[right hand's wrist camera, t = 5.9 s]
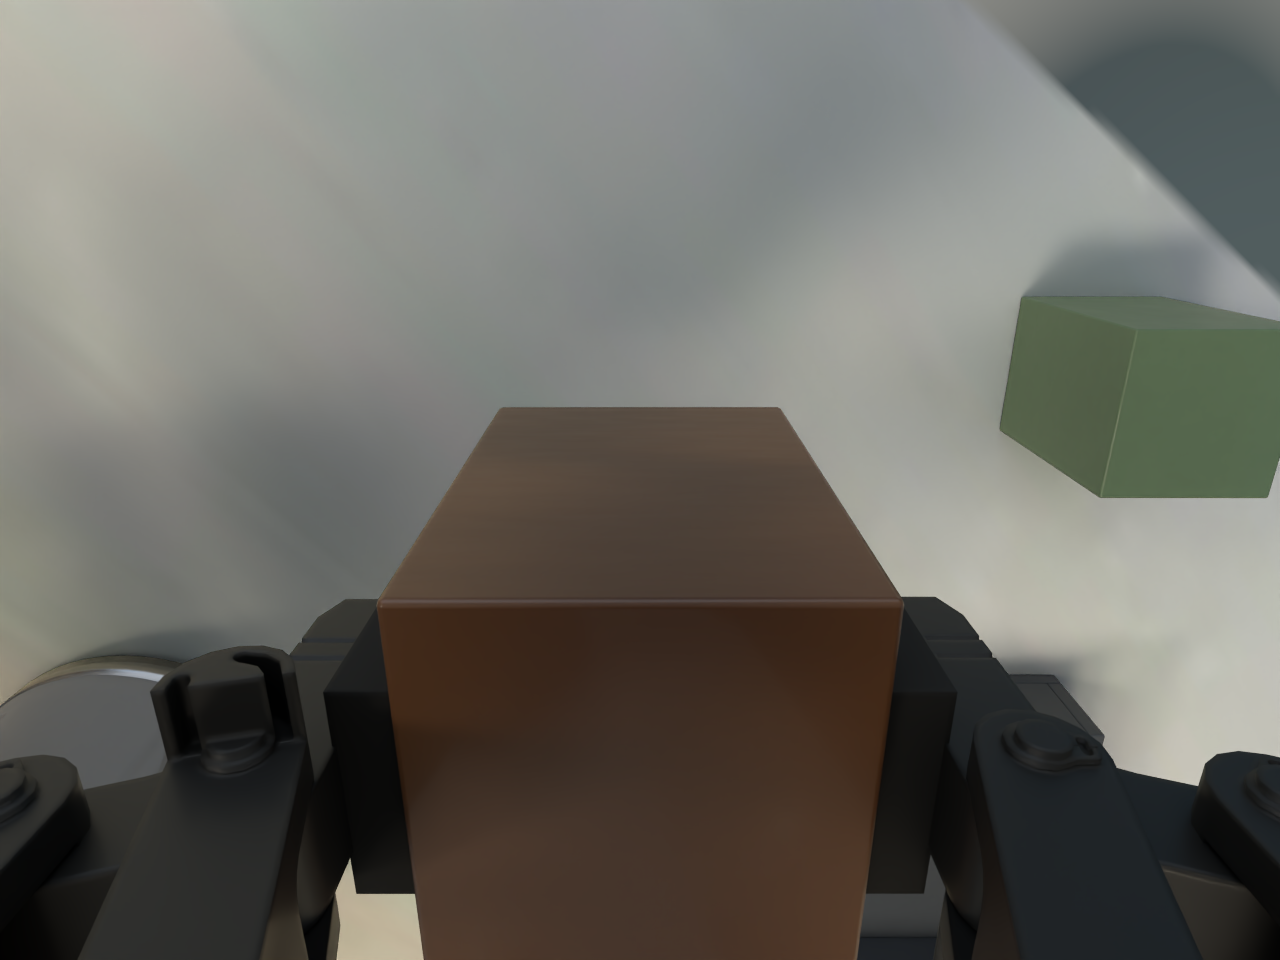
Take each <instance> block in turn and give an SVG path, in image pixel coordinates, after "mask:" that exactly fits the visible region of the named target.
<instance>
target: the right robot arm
mask: <svg viewBox="0 0 1280 960" xmlns="http://www.w3.org/2000/svg"><path fill="white" fill-rule="evenodd" d="M901 598H902V599H903V602H904V610H903V618H902V625H901V633H900V640H899V648H898V655H897V663H896V670H895V678H894V685H893V693H892V701H891V708H890V716H889V723H888V731H887V738H886V746H885V753H884V761H883V768H882V776H881V783H880V791H879V798H878V806H877V813H876V821H875V828H874V836H873V843H872V851H871V858H870V866H869V873H868V881H867V888H866V894H924V891H925V885H926V879H927V873H928V867H929V861H930V855H931V856H932V859H933V861H934V863H935V865H936V868H937V870H938V872H939V875H940V877H941V879H942V881H943V884H944V886H945V888H946V889H945V895H944V900H943V906H942V911H941V917H940V922H939V928H938V934H937V939H936V945H935V950H934V956H933V960H1280V758H1279V757H1275V756H1271V755H1266V754H1258V753H1250V752H1242V751H1236V752H1229V753H1222V754H1217V755H1215V756H1214V757H1213V758H1212V759H1210V760H1209V761H1208V762H1207V763H1205V766H1204V769H1203V773H1202V776H1201V779H1200V782H1199V785H1198V786H1194V785H1190V784H1185V783H1180V782H1175V781H1170V780H1166V779H1161V778H1156V777H1151V776H1147V775H1142V774H1137V773H1133V772H1130V771H1126V770H1122V769H1119V768H1116V766H1115V763H1114V761H1113V759H1112V758H1111V756H1110V755H1109V754H1108V752H1107V751H1106V750H1105V748H1104V747H1103V746H1102V744H1101V743H1100V742H1099V741H1097V740H1096V739H1094V738H1093V737H1092V736H1090V735H1089V734H1088V733H1086V732H1085V731H1084V730H1082V729H1081V728H1079V727H1077V726H1075V725H1073V724H1071V723H1068V722H1066V721H1064V720H1062V719H1060V718H1057V717H1055V716H1051V715H1047V714H1043V713H1039V712H1036V710H1035V709H1034V708H1033V706H1032V705H1031V704H1030V703H1029V701H1028V700H1027V699H1026V697H1025V696H1024V695H1023V693H1022V692H1021V691H1020V689H1019V688H1018V687H1017V685H1016V684H1015V683H1014V681H1013V680H1012V679H1011V677H1010V676H1009V675H1008V674H1007V672H1006V671H1005V670H1004V668H1003V667H1002V666H1001V664H1000V663H999V662H998V660H997V659H996V658H993V657H992V652H991V651H990V650H989V648H988V647H987V646H986V645H985V643H984V642H983V641H982V640H979V635H978V634H977V633H976V631H975V630H974V629H973V627H972V626H971V625H970V623H969V622H968V621H967V620H966V618H965V617H964V616H963V615H962V614H961V613H959V612H958V611H956V610H955V609H953V608H952V607H950V606H948V605H947V604H945V603H944V602H942V601H941V600H939V599H938V598H936V597H901ZM377 602H378V599H346V600H344V601H342V602H341V603H339V604H338V605H336V606H335V607H333V608H332V609H330V610H329V611H327V612H326V613H324V614H323V615H321V616H319V617H318V618H317V619H316V621H315V622H314V623H313V625H312V626H311V627H310V629H309V630H308V631H307V633H306V634H305V635H304V637H303V638H302V643H298V645H297V646H296V647H295V649H294V650H293V651H292V653H291V654H290V655H288V654H286V653H285V652H284V651H283V650H280V649H275V648H271V647H266V646H238V647H233V648H228V649H224V650H219V651H214V652H210V653H208V654H205V655H203V656H200V657H198V658H195V659H192V660H190V661H187V662H185V663H183V664H181V663H178V662H174V661H169V660H164V659H159V658H151V657H143V656H125V655H121V656H103V657H95V658H88V659H84V660H79V661H75V662H71V663H68V664H65V665H62V666H59V667H57V668H54V669H52V670H50V671H48V672H46V673H44V674H42V675H40V676H39V677H37V678H35V679H34V680H32V681H31V682H29V683H28V684H27V685H26V686H24V687H23V688H22V689H21V690H19V691H18V692H17V693H16V694H14V695H13V696H12V697H11V698H9V699H8V700H7V701H6V702H4V703H3V704H2V705H1V706H0V960H336V958H337V949H338V941H339V932H340V919H339V912H338V906H337V900H336V895H335V891H336V889H337V887H338V885H339V882H340V880H341V878H342V875H343V873H344V871H345V868H346V866H347V864H348V862H349V859H350V858H351V864H352V870H353V876H354V882H355V888H356V894H415V889H414V882H413V874H412V867H411V859H410V852H409V844H408V837H407V829H406V822H405V814H404V807H403V799H402V792H401V784H400V777H399V769H398V762H397V754H396V747H395V739H394V732H393V724H392V717H391V709H390V702H389V694H388V687H387V679H386V672H385V664H384V657H383V649H382V642H381V634H380V627H379V619H378V611H377Z"/></svg>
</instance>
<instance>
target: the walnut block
mask: <svg viewBox="0 0 1280 960" xmlns="http://www.w3.org/2000/svg"><path fill="white" fill-rule="evenodd" d="M903 610H904V602H903V599H902V598H901V596H900V595H899V593H898V591H897V590H896V588H895V587H894V585H893V584H892V582H891V581H890V579H889V577H888V576H887V574H886V573H885V571H884V570H883V568H882V566H881V565H880V563H879V562H878V560H877V559H876V557H875V556H874V554H873V552H872V551H871V549H870V548H869V546H868V545H867V543H866V541H865V540H864V538H863V537H862V535H861V534H860V532H859V530H858V529H857V527H856V526H855V524H854V523H853V521H852V520H851V518H850V516H849V515H848V513H847V512H846V510H845V509H844V507H843V505H842V504H841V502H840V501H839V499H838V498H837V496H836V495H835V493H834V491H833V490H832V488H831V487H830V485H829V484H828V482H827V480H826V479H825V477H824V476H823V474H822V473H821V471H820V470H819V468H818V466H817V465H816V463H815V462H814V460H813V459H812V457H811V455H810V454H809V452H808V451H807V449H806V448H805V446H804V445H803V443H802V441H801V440H800V438H799V437H798V435H797V434H796V432H795V430H794V429H793V427H792V426H791V424H790V423H789V421H788V420H787V418H786V416H785V415H784V413H783V412H782V410H781V409H780V408H778V407H503V408H500V409H499V411H498V412H497V414H496V415H495V417H494V418H493V420H492V422H491V423H490V425H489V426H488V428H487V429H486V431H485V433H484V434H483V436H482V437H481V439H480V440H479V442H478V444H477V445H476V447H475V448H474V450H473V451H472V453H471V455H470V456H469V458H468V459H467V461H466V462H465V464H464V466H463V467H462V469H461V470H460V472H459V473H458V475H457V477H456V478H455V480H454V481H453V483H452V484H451V486H450V488H449V489H448V491H447V492H446V494H445V495H444V497H443V499H442V500H441V502H440V503H439V505H438V506H437V508H436V510H435V511H434V513H433V514H432V516H431V517H430V519H429V521H428V522H427V524H426V525H425V527H424V528H423V530H422V532H421V533H420V535H419V536H418V538H417V539H416V541H415V543H414V544H413V546H412V547H411V549H410V550H409V552H408V554H407V555H406V557H405V558H404V560H403V562H402V563H401V565H400V566H399V568H398V569H397V571H396V573H395V574H394V576H393V577H392V579H391V580H390V582H389V584H388V585H387V587H386V588H385V590H384V591H383V593H382V595H381V596H380V598H379V599H378V602H377V611H378V619H379V627H380V634H381V642H382V649H383V657H384V664H385V672H386V679H387V687H388V694H389V702H390V709H391V717H392V724H393V732H394V739H395V747H396V754H397V762H398V769H399V777H400V784H401V792H402V799H403V807H404V814H405V822H406V829H407V837H408V844H409V852H410V859H411V867H412V874H413V882H414V889H415V897H416V904H417V912H418V919H419V927H420V934H421V942H422V950H423V957H424V960H857V956H858V948H859V941H860V933H861V926H862V918H863V911H864V903H865V896H866V888H867V881H868V873H869V866H870V858H871V851H872V843H873V836H874V828H875V821H876V813H877V806H878V798H879V791H880V783H881V776H882V768H883V761H884V753H885V746H886V738H887V731H888V723H889V716H890V708H891V701H892V693H893V685H894V678H895V670H896V663H897V655H898V648H899V640H900V633H901V625H902V618H903Z"/></svg>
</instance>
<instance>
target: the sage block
mask: <svg viewBox="0 0 1280 960" xmlns="http://www.w3.org/2000/svg"><path fill="white" fill-rule="evenodd" d="M1000 431H1002V432H1003V433H1005V434H1006V435H1008V436H1009V437H1011V438H1012V439H1014V440H1015V441H1017V442H1018V443H1020V444H1021V445H1022V446H1024V447H1025V448H1027V449H1028V450H1030V451H1031V452H1033V453H1034V454H1036V455H1037V456H1039V457H1040V458H1042V459H1043V460H1045V461H1046V462H1048V463H1049V464H1051V465H1052V466H1054V467H1055V468H1057V469H1058V470H1059V471H1061V472H1062V473H1064V474H1065V475H1067V476H1068V477H1070V478H1071V479H1073V480H1074V481H1076V482H1077V483H1079V484H1080V485H1082V486H1083V487H1085V488H1086V489H1088V490H1089V491H1091V492H1092V493H1094V494H1095V495H1096V496H1098V497H1100V498H1267V497H1268V495H1269V491H1270V488H1271V485H1272V481H1273V478H1274V475H1275V471H1276V468H1277V465H1278V461H1279V458H1280V322H1279V321H1275V320H1270V319H1265V318H1260V317H1255V316H1251V315H1246V314H1241V313H1236V312H1231V311H1227V310H1222V309H1217V308H1212V307H1207V306H1203V305H1198V304H1193V303H1188V302H1183V301H1178V300H1174V299H1169V298H1164V297H1022V299H1021V305H1020V311H1019V317H1018V323H1017V329H1016V335H1015V341H1014V347H1013V353H1012V359H1011V365H1010V371H1009V377H1008V383H1007V389H1006V395H1005V401H1004V407H1003V413H1002V419H1001V425H1000Z"/></svg>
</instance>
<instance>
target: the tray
mask: <svg viewBox="0 0 1280 960" xmlns="http://www.w3.org/2000/svg"><path fill="white" fill-rule="evenodd" d="M1009 676H1010V677H1011V679H1012V680H1013V681H1014V683H1015V684H1016V685H1017V687H1018V688H1019V689H1020V691H1021V692H1022V693H1023V695H1024V696H1025V697H1026V699H1027V700H1028V701H1029V703H1030V704H1031V705H1032V706H1033V708H1034V709H1035V710H1036V712H1039V713H1043V714H1047V715H1051V716H1055V717H1057V718H1060V719H1062V720H1064V721H1066V722H1068V723H1071V724H1073V725H1075V726H1077V727H1079V728H1081V729H1082V730H1084V731H1085V732H1086V733H1088V734H1089V735H1090V736H1092V737H1093V738H1094V739H1096V740H1097V741H1099V742H1100V743H1101V744H1102V745H1103V741H1104V734H1103V733H1102V732H1101V731H1100V729H1099V728H1098V727H1097V726H1096V725H1095V724H1094V722H1093V721H1092V720H1091V719H1090V718H1089V716H1088V715H1087V714H1086V713H1085V712H1084V711H1083V709H1082V708H1081V707H1080V706H1079V705H1078V703H1077V702H1076V701H1075V700H1074V699H1073V697H1072V696H1071V695H1070V694H1069V693H1068V692H1067V690H1066V689H1065V688H1064V687H1063V686H1062V684H1060V682H1059V681H1058V679H1057V678H1056V677H1055V676H1054V675H1009ZM945 889H946V888H945V886H944V884H943V881H942V879H941V877H940V875H939V872H938V870H937V868H936V865H935V863H934V861H933V859H932V856H931V855H930V861H929V867H928V873H927V879H926V885H925V891H924V894H866V896H865V903H864V911H863V918H862V926H861V933H860V941H859V948H858V956H857V960H933V956H934V950H935V945H936V939H937V934H938V928H939V922H940V917H941V911H942V906H943V900H944V895H945Z"/></svg>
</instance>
